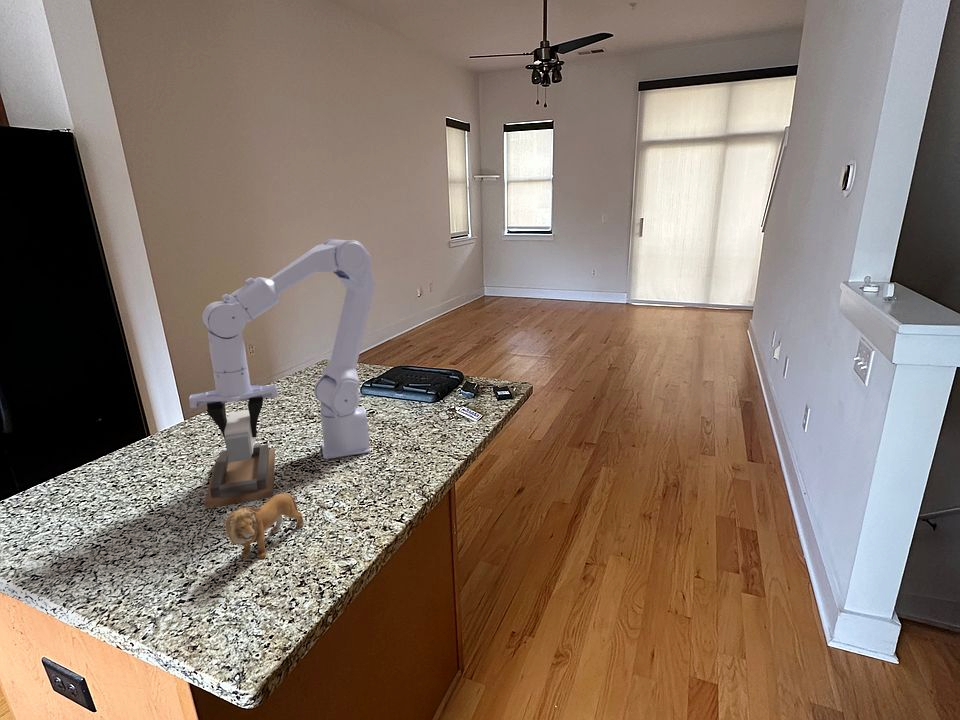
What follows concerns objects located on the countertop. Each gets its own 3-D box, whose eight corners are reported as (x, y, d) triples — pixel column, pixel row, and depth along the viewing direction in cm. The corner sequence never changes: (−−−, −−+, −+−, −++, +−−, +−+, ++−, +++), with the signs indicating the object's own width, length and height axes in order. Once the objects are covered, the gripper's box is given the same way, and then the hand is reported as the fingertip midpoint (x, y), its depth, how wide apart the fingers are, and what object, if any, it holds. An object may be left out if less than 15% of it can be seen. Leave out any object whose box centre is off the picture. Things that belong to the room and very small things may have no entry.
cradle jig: (275, 453, 108) (273, 440, 107) (273, 496, 92) (271, 481, 91) (217, 463, 105) (215, 449, 104) (205, 508, 88) (202, 493, 87)
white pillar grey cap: (254, 432, 102) (251, 409, 100) (252, 458, 91) (248, 433, 90) (232, 436, 100) (229, 412, 99) (227, 462, 90) (223, 436, 88)
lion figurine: (253, 577, 71) (244, 521, 69) (221, 571, 73) (211, 516, 70) (312, 518, 85) (306, 470, 83) (284, 514, 86) (277, 466, 84)
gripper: (181, 379, 86) (194, 452, 90) (273, 369, 91) (282, 439, 95) (188, 368, 93) (200, 437, 97) (273, 359, 98) (282, 425, 101)
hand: (241, 437), depth 96 cm, fingers closed on white pillar grey cap, 4 cm apart
